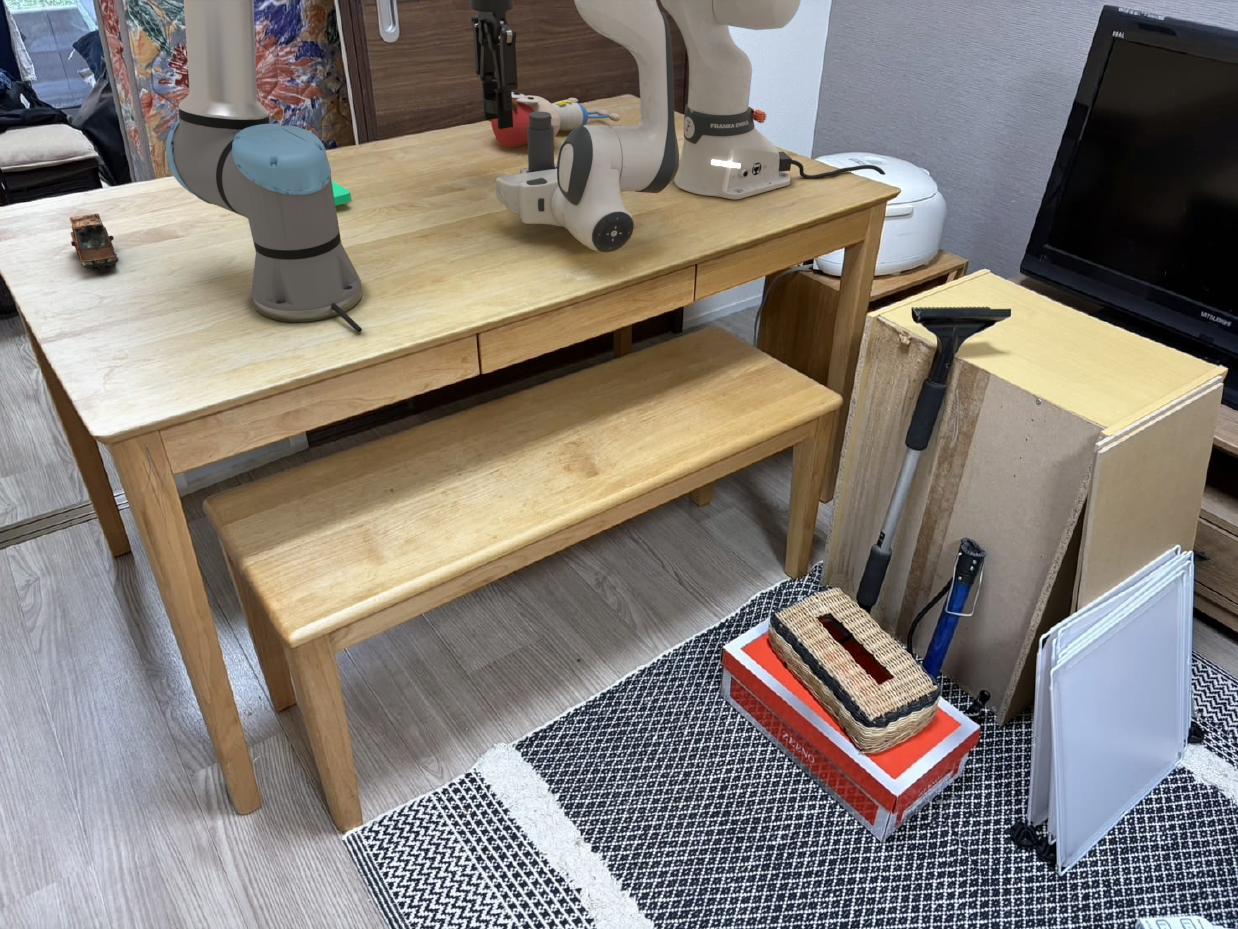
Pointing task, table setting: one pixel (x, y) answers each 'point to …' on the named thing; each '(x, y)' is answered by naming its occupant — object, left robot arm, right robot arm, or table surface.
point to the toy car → (92, 242)
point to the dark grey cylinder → (540, 142)
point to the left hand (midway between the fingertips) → (498, 122)
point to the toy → (562, 112)
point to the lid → (490, 103)
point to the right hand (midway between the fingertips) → (539, 170)
